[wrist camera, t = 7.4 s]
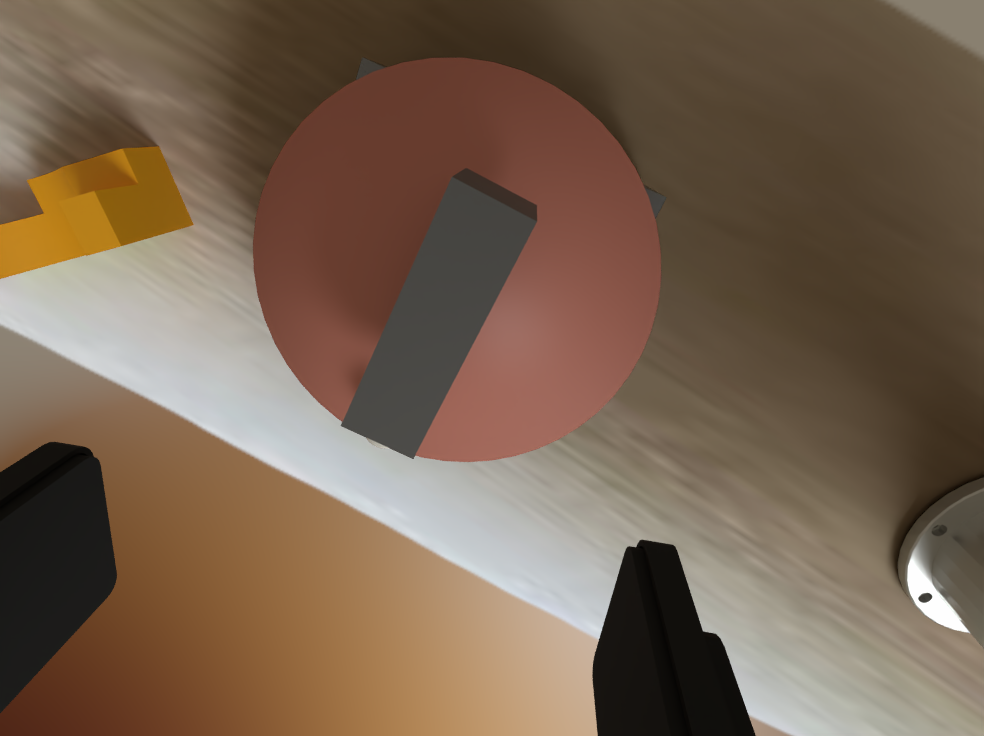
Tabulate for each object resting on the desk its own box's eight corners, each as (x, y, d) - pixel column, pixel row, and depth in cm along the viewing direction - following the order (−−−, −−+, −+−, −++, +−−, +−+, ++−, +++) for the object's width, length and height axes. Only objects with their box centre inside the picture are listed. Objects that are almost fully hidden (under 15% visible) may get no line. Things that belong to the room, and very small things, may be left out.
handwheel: (344, -29, 22) (262, -95, 16) (739, 191, 24) (816, 216, 18) (219, 355, 29) (126, 424, 22) (536, 501, 31) (537, 603, 24)
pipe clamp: (161, 146, 32) (74, 151, 26) (195, 224, 33) (121, 245, 27) (-20, 200, 34) (-139, 217, 28) (21, 272, 35) (-84, 302, 29)
